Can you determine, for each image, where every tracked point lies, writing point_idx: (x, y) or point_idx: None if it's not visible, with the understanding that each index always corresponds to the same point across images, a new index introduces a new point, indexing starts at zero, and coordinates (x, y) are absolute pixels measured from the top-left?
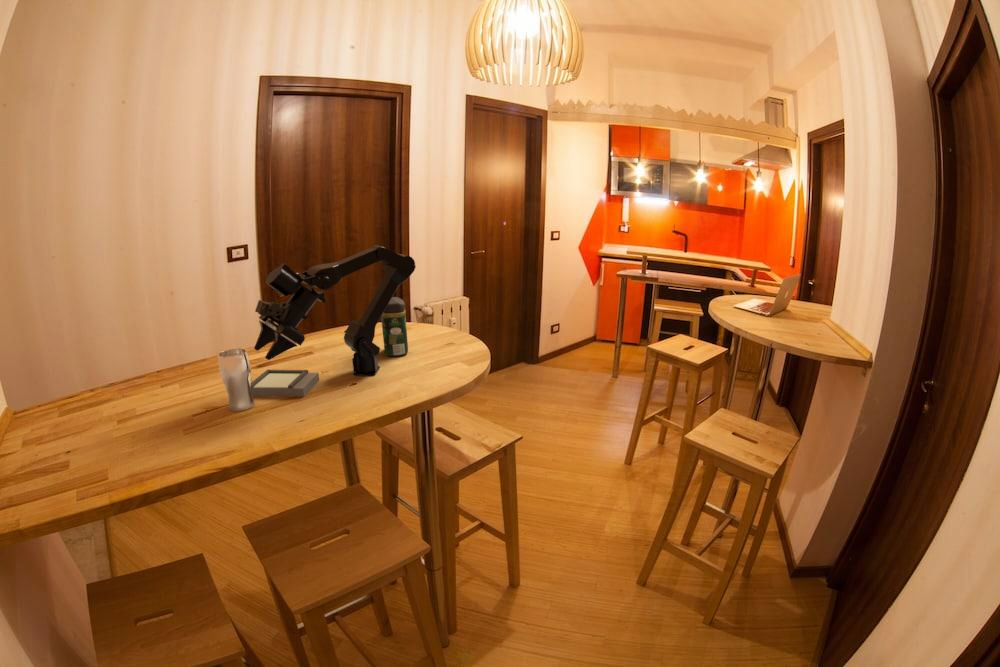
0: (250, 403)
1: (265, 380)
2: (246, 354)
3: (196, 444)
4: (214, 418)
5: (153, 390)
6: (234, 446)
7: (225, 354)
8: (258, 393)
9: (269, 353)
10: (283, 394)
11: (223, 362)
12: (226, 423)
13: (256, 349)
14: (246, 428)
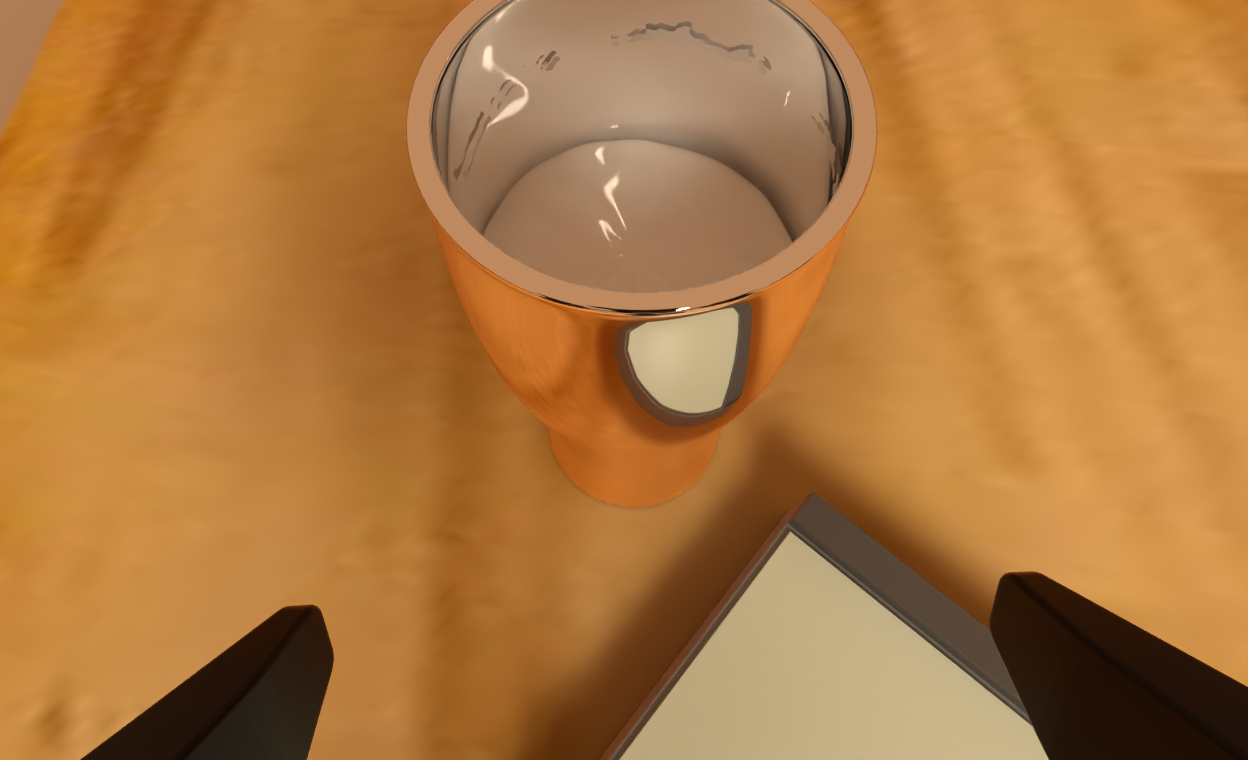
0: (563, 460)
1: (896, 674)
2: (519, 311)
3: (302, 143)
4: None
5: (1217, 60)
6: (113, 276)
7: (822, 100)
8: (747, 566)
9: (173, 700)
10: (604, 754)
11: (520, 49)
12: (436, 295)
13: (998, 609)
14: (272, 372)
